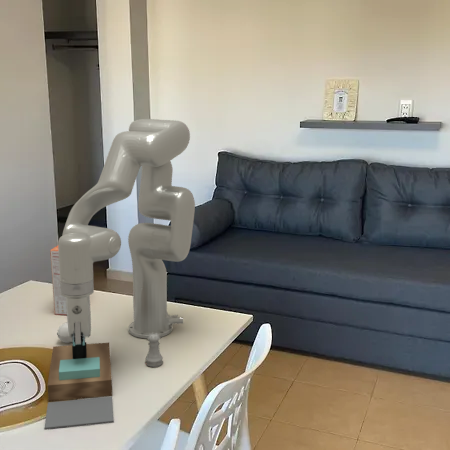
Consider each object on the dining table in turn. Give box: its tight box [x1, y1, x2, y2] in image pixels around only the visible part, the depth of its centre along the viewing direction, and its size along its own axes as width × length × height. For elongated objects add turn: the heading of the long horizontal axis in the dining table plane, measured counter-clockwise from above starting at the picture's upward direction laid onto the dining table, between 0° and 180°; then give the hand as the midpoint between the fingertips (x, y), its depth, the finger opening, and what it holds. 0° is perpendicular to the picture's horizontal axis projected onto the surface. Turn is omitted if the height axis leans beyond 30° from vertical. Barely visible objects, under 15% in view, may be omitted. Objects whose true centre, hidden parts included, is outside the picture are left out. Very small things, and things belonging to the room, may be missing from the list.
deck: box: [46, 341, 113, 403], centre depth 142 cm, size 14×20×4 cm
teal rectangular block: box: [59, 357, 100, 380], centre depth 136 cm, size 9×6×2 cm, turn 102°
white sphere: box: [56, 322, 73, 344], centre depth 160 cm, size 8×6×6 cm
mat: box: [44, 395, 115, 430], centre depth 127 cm, size 14×10×1 cm
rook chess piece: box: [144, 333, 164, 368], centre depth 149 cm, size 4×4×8 cm
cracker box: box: [49, 245, 67, 316], centre depth 183 cm, size 14×6×21 cm, turn 172°
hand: (79, 359), depth 140 cm, fingers closed
